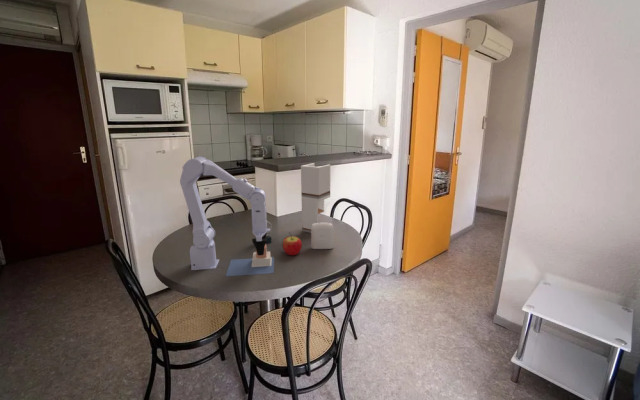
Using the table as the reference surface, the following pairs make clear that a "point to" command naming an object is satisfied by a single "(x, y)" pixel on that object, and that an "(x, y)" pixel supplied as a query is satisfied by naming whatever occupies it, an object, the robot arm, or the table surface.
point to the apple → (292, 245)
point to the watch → (268, 234)
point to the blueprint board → (248, 268)
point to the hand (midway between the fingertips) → (261, 250)
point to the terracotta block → (263, 254)
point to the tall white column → (313, 193)
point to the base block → (261, 260)
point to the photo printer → (322, 235)
